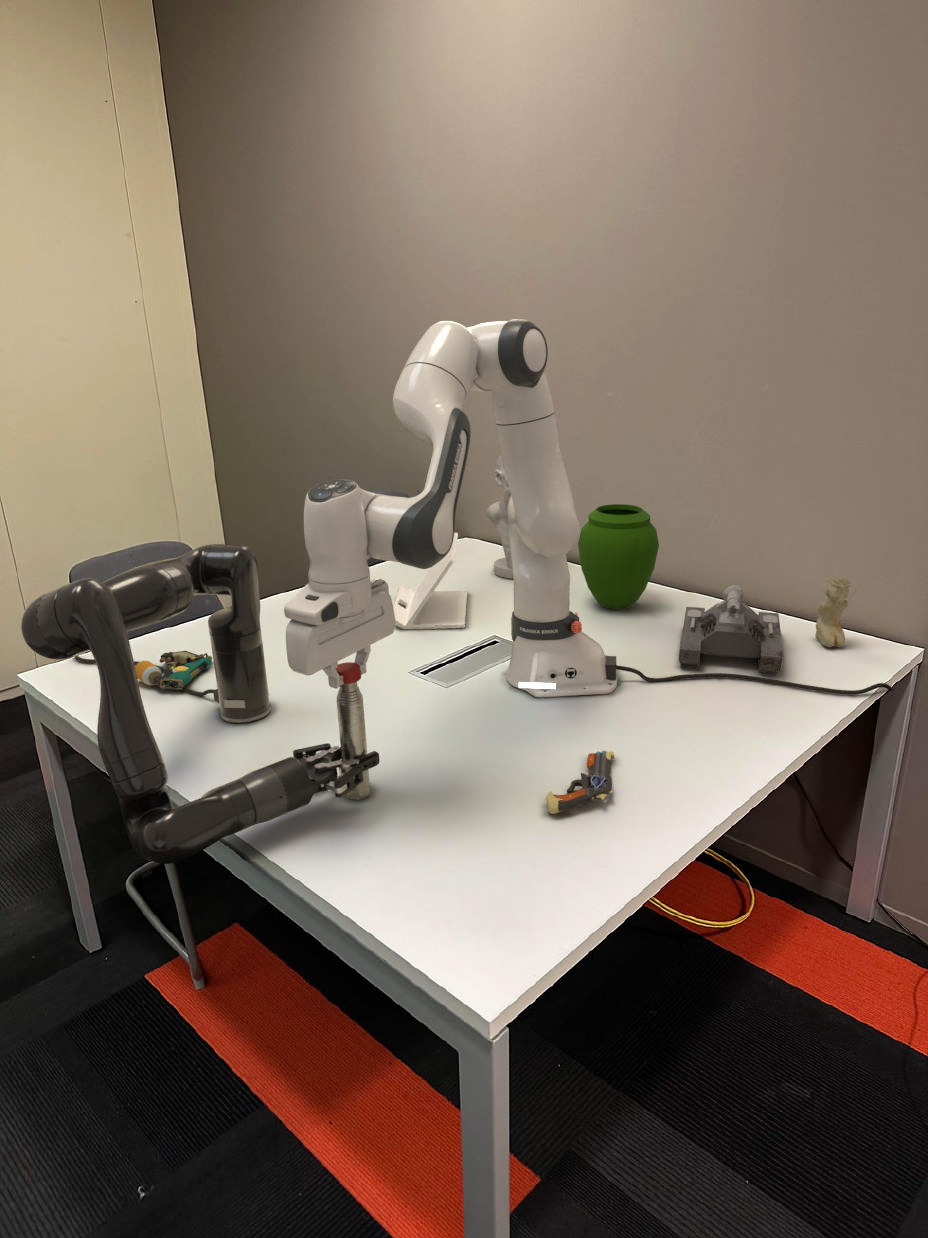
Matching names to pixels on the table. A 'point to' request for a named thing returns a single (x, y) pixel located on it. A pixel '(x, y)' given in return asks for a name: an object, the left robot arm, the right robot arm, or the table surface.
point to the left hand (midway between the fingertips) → (369, 751)
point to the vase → (618, 554)
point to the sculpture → (832, 613)
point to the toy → (732, 633)
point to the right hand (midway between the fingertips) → (348, 680)
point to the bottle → (353, 733)
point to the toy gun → (586, 784)
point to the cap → (349, 672)
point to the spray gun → (173, 669)
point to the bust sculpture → (502, 523)
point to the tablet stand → (432, 600)
